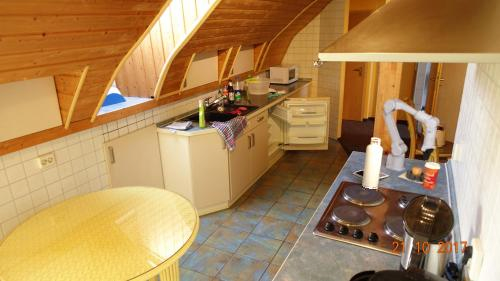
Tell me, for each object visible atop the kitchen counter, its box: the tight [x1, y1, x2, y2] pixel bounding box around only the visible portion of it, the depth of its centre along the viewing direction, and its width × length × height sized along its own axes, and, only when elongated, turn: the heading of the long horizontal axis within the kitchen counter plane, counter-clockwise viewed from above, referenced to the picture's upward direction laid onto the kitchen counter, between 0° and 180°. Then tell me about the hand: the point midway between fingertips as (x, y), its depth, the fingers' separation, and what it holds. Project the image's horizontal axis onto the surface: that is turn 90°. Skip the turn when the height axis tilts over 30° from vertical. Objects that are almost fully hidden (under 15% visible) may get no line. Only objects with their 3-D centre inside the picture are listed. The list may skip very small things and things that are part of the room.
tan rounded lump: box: [411, 166, 423, 176], centre depth 204 cm, size 5×5×6 cm
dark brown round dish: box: [406, 169, 424, 183], centre depth 204 cm, size 11×11×3 cm
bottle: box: [361, 137, 384, 190], centre depth 187 cm, size 8×8×28 cm
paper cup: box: [422, 161, 441, 190], centre depth 191 cm, size 8×8×14 cm
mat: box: [397, 172, 423, 185], centre depth 206 cm, size 14×12×1 cm
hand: (425, 160), depth 207 cm, fingers closed
